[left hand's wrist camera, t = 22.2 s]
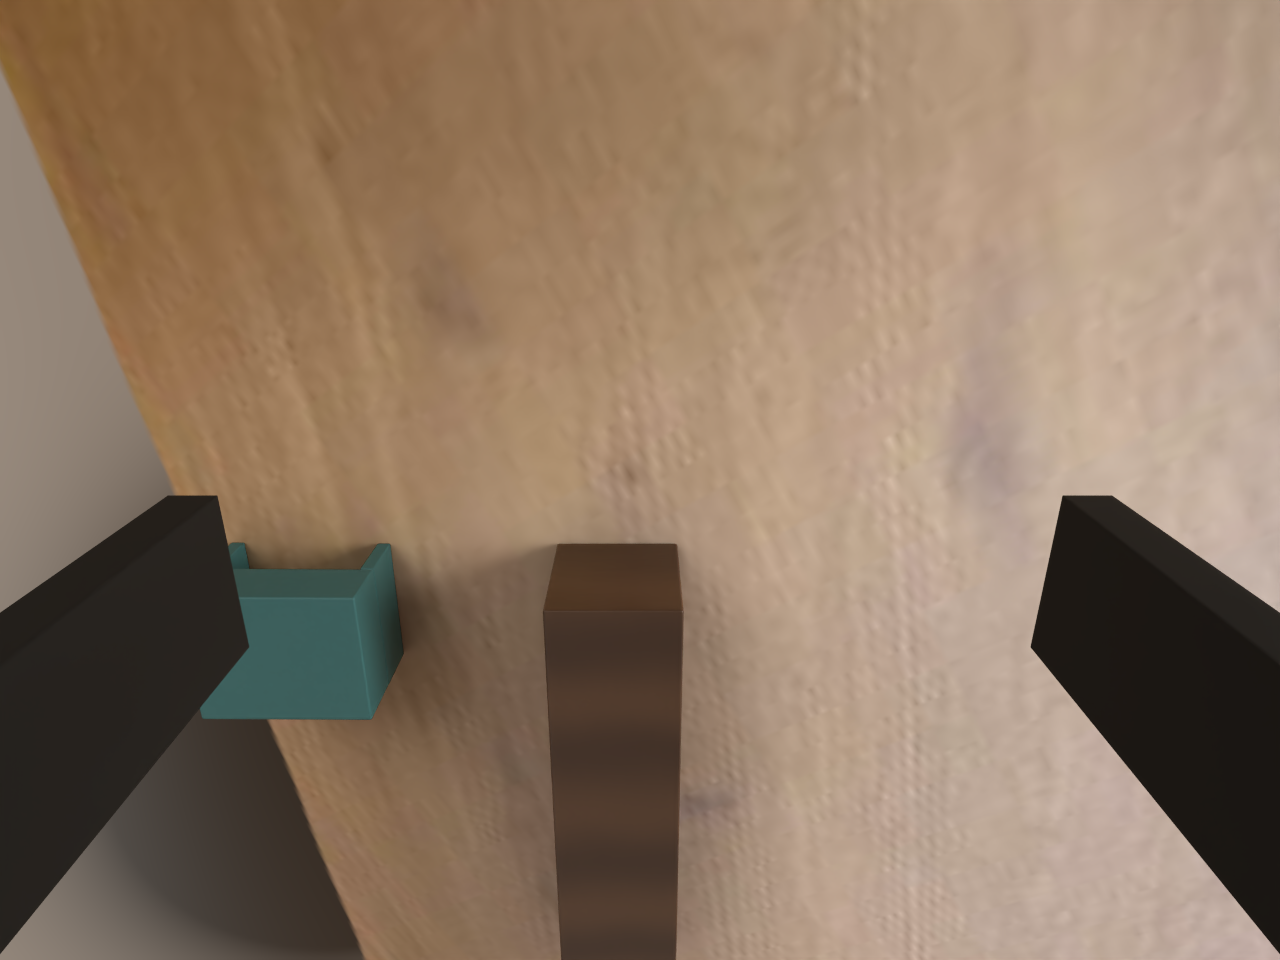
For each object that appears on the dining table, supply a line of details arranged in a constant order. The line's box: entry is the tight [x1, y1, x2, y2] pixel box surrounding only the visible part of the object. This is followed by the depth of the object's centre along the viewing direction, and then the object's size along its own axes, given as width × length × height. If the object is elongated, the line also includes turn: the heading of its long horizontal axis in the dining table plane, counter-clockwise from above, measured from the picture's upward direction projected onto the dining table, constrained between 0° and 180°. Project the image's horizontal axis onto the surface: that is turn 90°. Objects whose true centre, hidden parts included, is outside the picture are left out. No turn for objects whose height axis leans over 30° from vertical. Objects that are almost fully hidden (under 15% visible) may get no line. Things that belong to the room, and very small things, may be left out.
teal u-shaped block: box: [200, 543, 404, 720], centre depth 35 cm, size 6×7×5 cm
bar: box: [543, 544, 684, 960], centre depth 38 cm, size 26×6×6 cm, turn 0°
